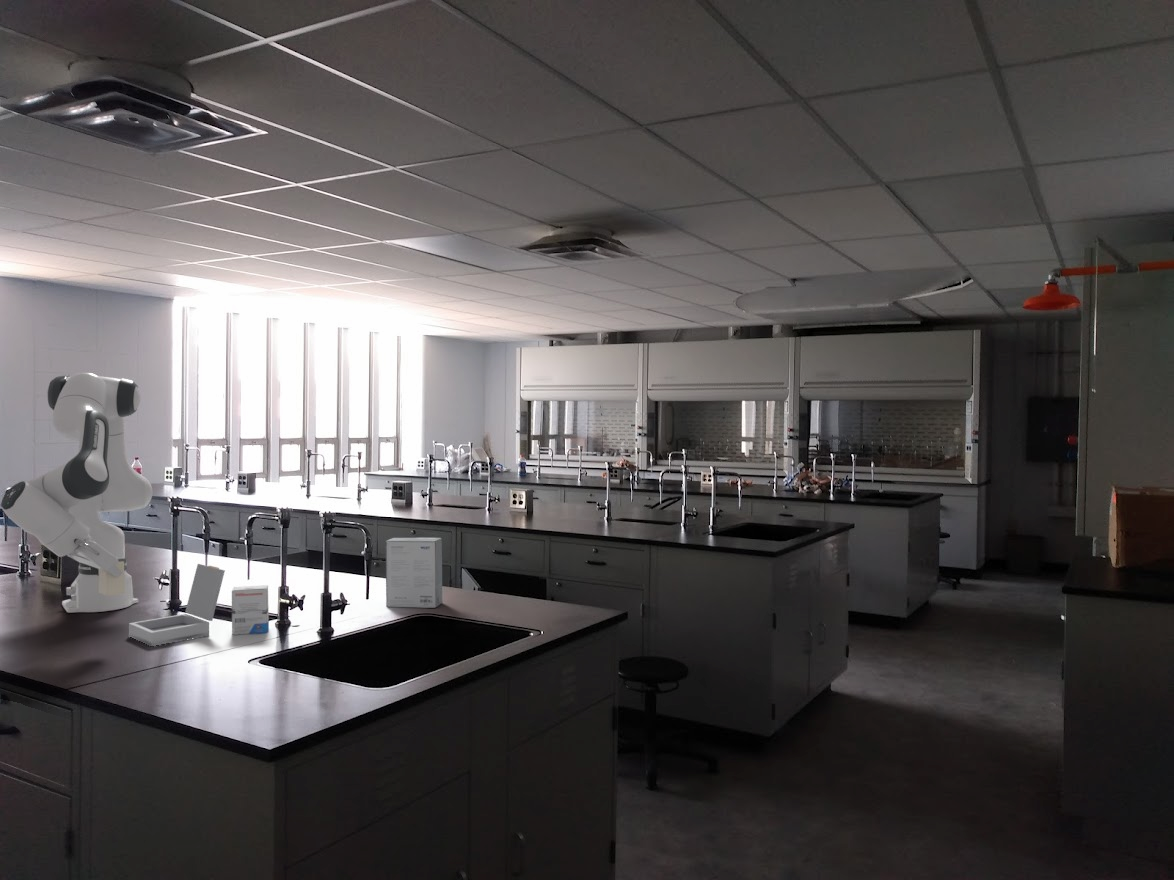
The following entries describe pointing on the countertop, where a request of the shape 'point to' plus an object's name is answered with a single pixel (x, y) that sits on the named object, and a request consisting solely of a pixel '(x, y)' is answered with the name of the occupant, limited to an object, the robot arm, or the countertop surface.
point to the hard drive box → (414, 572)
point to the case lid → (205, 591)
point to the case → (168, 629)
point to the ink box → (250, 610)
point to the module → (112, 580)
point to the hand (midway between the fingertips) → (114, 573)
